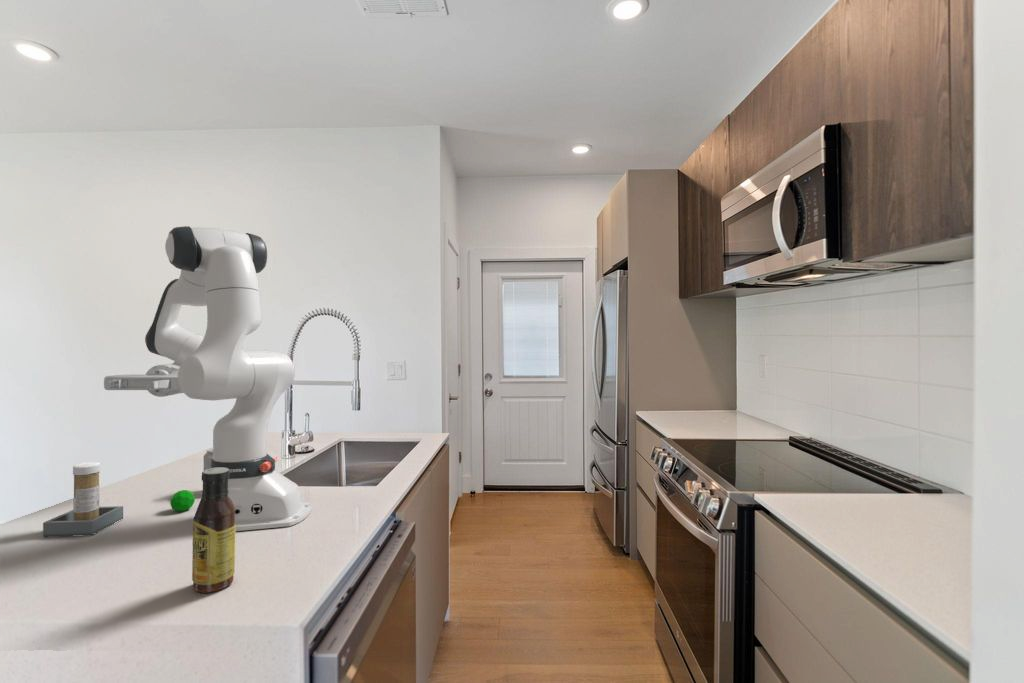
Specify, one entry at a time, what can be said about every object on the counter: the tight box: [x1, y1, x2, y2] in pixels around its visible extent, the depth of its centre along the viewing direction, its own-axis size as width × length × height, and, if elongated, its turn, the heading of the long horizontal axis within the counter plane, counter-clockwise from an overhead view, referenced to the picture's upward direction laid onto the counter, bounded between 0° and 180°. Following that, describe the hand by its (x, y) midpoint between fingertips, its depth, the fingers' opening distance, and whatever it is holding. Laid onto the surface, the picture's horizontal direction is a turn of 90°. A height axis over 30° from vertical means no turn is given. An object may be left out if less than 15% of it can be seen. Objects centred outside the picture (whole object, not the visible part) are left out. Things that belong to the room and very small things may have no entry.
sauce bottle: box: [191, 467, 236, 594], centre depth 85 cm, size 6×6×20 cm
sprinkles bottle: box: [72, 461, 101, 521], centre depth 110 cm, size 5×5×14 cm
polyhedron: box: [169, 489, 196, 512], centre depth 121 cm, size 5×5×5 cm
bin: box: [42, 505, 124, 537], centre depth 110 cm, size 10×10×3 cm
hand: (131, 385), depth 125 cm, fingers open, 8 cm apart
